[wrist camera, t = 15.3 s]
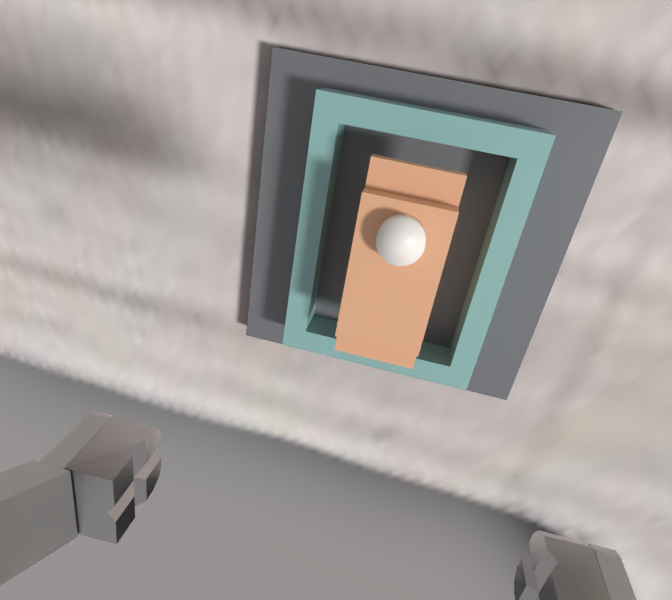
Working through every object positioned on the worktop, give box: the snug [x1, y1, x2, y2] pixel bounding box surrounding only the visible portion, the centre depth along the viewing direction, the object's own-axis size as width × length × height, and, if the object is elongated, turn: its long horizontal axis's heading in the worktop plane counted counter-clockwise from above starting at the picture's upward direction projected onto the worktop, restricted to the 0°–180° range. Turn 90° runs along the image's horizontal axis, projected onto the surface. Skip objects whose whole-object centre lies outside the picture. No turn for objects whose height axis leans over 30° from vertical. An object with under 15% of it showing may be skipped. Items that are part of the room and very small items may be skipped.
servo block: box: [334, 154, 467, 369], centre depth 23 cm, size 4×10×6 cm, turn 171°
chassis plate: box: [246, 47, 622, 400], centre depth 25 cm, size 16×16×3 cm
